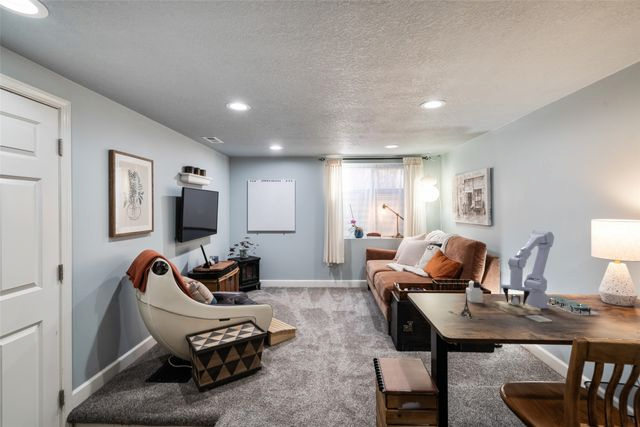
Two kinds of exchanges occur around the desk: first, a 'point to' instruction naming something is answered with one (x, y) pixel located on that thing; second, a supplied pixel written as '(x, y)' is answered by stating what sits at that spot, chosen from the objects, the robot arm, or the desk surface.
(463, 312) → the eiffel tower figurine
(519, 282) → the robot arm
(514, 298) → the end cover
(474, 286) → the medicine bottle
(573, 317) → the desk surface
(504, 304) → the bore block
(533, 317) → the mat
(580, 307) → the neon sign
